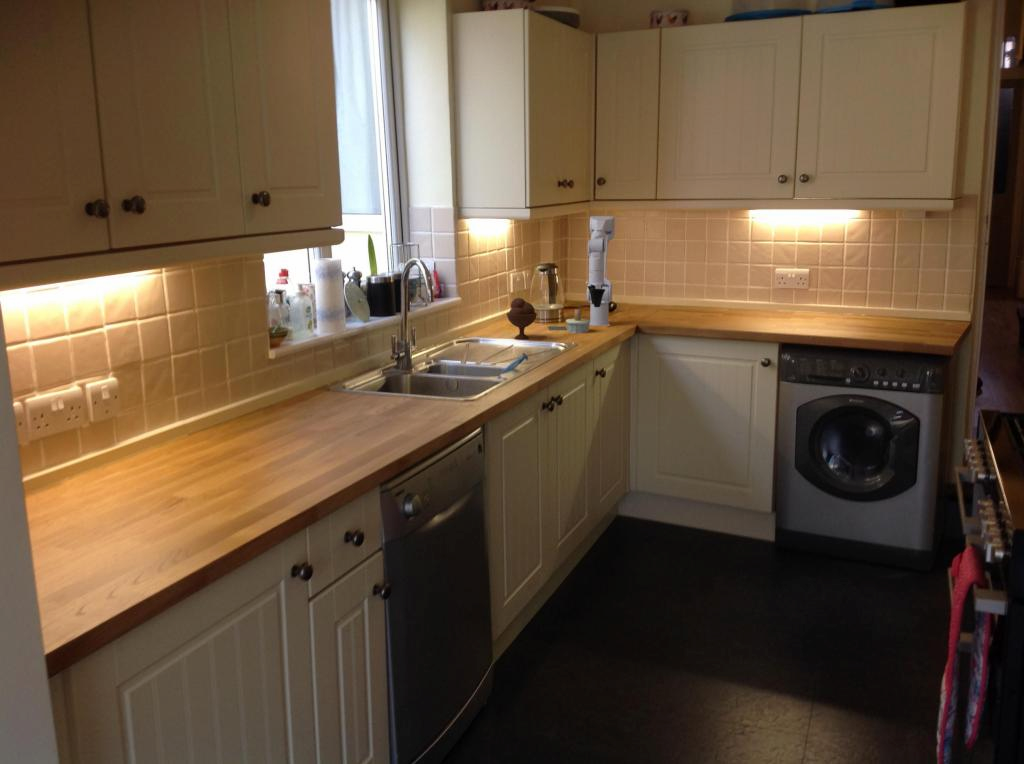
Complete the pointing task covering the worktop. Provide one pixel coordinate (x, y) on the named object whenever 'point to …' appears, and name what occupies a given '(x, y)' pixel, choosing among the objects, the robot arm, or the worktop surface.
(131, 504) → the worktop surface
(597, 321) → the robot arm
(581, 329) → the bowl
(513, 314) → the ice cream bowl
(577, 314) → the lid
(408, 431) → the worktop surface
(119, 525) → the worktop surface
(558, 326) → the mat
